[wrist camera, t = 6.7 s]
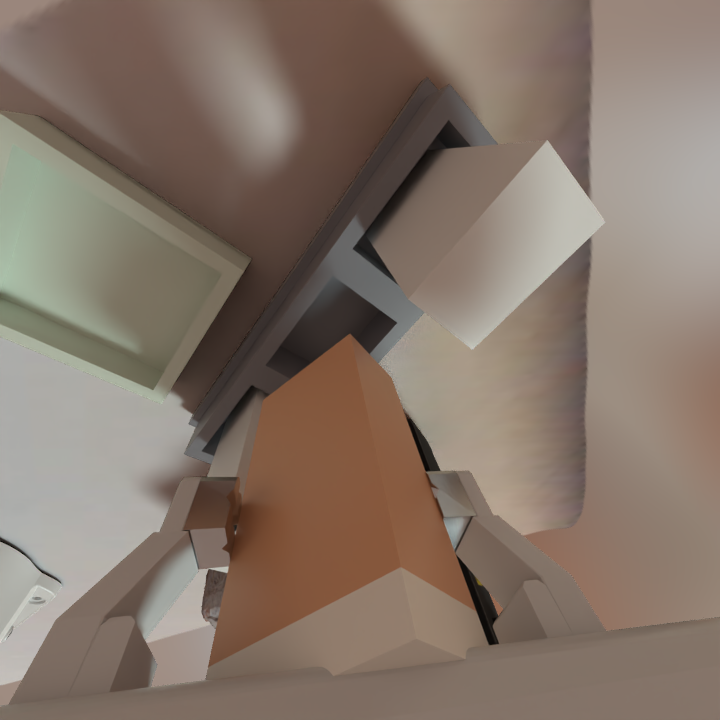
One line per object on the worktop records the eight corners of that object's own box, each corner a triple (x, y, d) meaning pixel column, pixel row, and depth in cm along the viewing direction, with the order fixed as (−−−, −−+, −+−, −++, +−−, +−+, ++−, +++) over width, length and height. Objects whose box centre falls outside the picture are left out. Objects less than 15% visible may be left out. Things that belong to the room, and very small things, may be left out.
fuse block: (275, 449, 27) (253, 600, 18) (192, 414, 24) (116, 572, 15) (507, 183, 18) (701, 208, 9) (421, 81, 16) (577, -35, 6)
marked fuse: (309, 435, 16) (305, 747, 7) (262, 400, 14) (193, 738, 6) (391, 377, 15) (499, 673, 6) (350, 333, 13) (416, 637, 5)
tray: (175, 381, 23) (161, 404, 21) (-12, 296, 18) (-55, 313, 16) (251, 258, 19) (244, 271, 17) (39, 116, 15) (-8, 108, 13)
